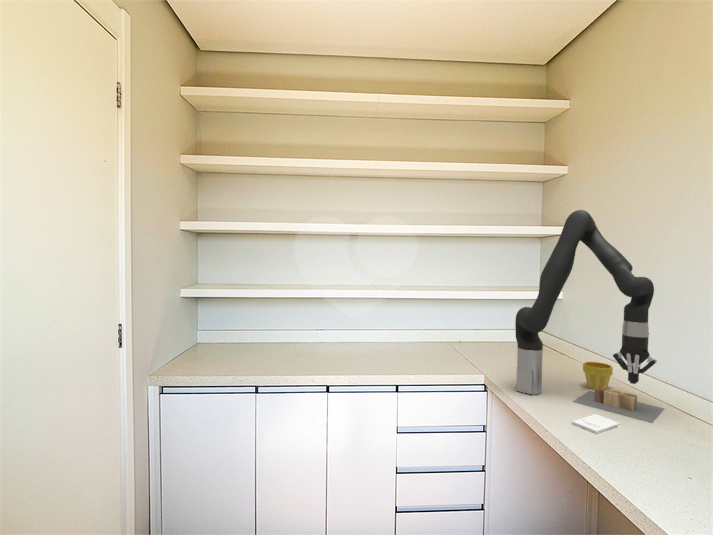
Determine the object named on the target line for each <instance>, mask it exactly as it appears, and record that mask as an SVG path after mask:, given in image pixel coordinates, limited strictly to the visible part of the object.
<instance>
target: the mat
mask: <svg viewBox="0 0 713 535" xmlns="http://www.w3.org/2000/svg"><path fill="white" fill-rule="evenodd" d="M594 398H595V390H594V391H593V390H588V391H587V392H585V393H583V394H582V395H580V396H579V397H577V398H576V399H575V400H572V403H575V404H578V405H583V406H586V407H590V408H594V409H598V410H601V411H605V412H609V413H611V414H612V413H613V414H616V415H620V416H623V417H626V418H627V417H628V418H632V419H634V420H638V421H643V422H646V423H648V424H649V423H650V424H653V423H654V422H655V420H657V418H658V417H659V416H660V415H661V414H662V413H663V412H664V410H665V408H664V407H660V406H656V405H651V404H647V403H644V402H639V401H637V408H636V409H635V410H634V411H630V410H626V409H623V408H619V407H615V406H611V405H607V404H603V403H599V402H595V401H594Z"/></svg>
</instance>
